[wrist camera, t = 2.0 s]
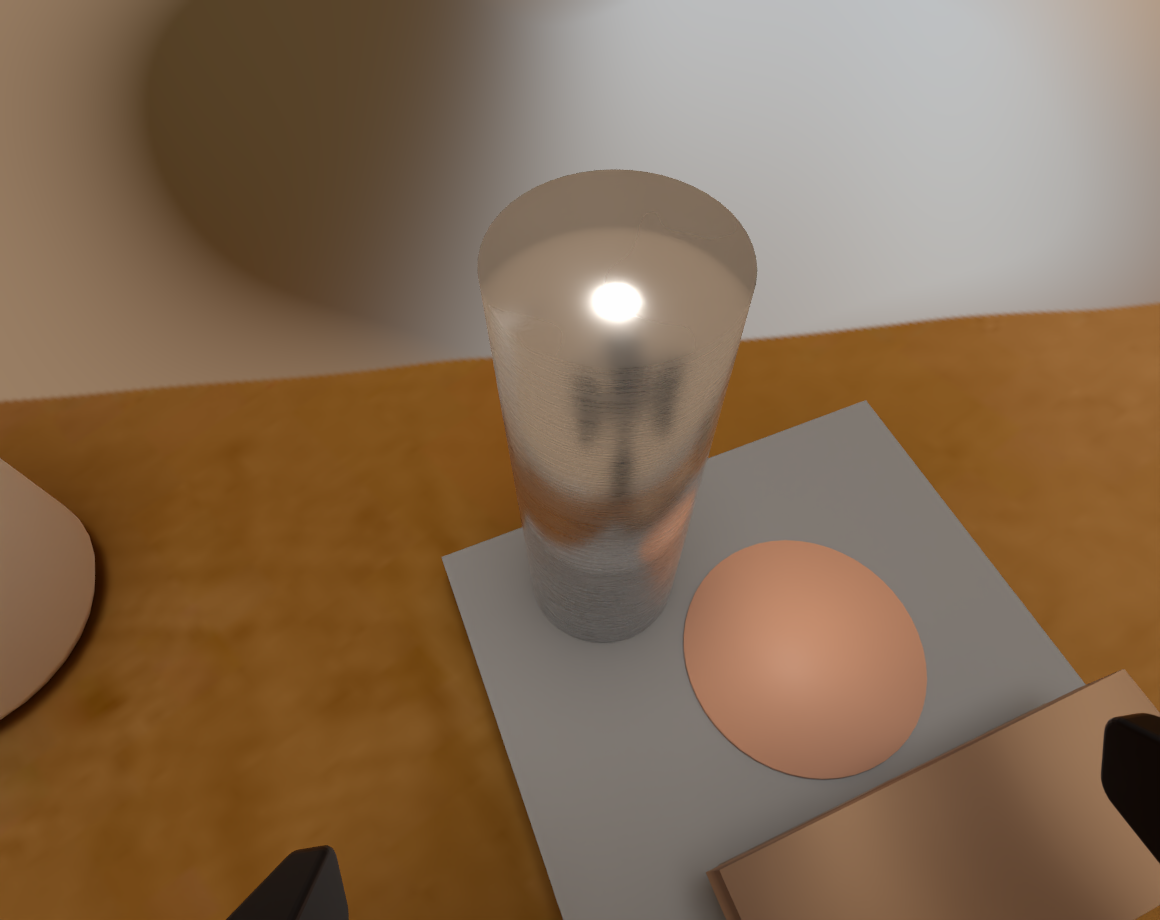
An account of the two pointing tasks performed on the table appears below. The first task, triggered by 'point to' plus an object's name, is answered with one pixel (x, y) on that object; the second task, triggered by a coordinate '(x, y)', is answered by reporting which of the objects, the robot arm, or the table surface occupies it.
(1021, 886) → the wooden toy car
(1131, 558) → the table surface
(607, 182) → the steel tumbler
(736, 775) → the slate board
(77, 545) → the alcohol
